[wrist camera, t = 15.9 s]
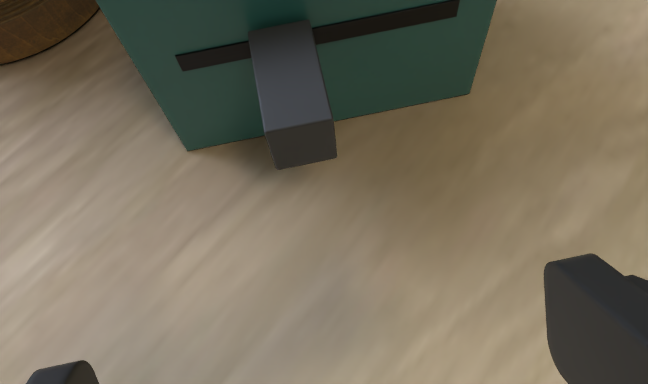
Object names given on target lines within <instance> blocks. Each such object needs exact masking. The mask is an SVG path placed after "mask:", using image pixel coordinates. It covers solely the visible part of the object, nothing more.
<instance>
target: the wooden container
mask: <svg viewBox="0 0 648 384" xmlns="http://www.w3.org/2000/svg"><path fill="white" fill-rule="evenodd" d="M98 8H99V5H98V4H97V2H96V0H0V64H4V63H8V62H12V61H16V60H19V59H22V58H25V57H28V56H31V55H33V54H36V53H38V52H40V51H42V50H44V49H47V48H49V47H51V46H53V45H55V44H56V43H58V42H60V41H61V40H63V39H65V38H66V37H68V36H69V35H70V34H72V33H73V32H74V31H76V30H77V29H78V28H79V27H81V26H82V25H83V24H84V23H85V22H86V21H87V20H88V19H89V18H90V17H91V16H92V15H93V14H94V13H95V12H96V11H97V9H98Z"/></svg>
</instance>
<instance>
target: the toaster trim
mask: <svg viewBox="0 0 648 384" xmlns="http://www.w3.org/2000/svg"><path fill="white" fill-rule="evenodd" d="M459 3H460V0H449V1H444V2H439V3H434V4H429V5H424V6H419V7H414V8H409V9H404V10H399V11H394V12H389V13H384V14H379V15H374V16H369V17H364V18H359V19H354V20H349V21H344V22H339V23H334V24H329V25H324V26H319V27H314V28H312V31H313V35H314V40H315V44H316V45H318V44H323V43H328V42H333V41H338V40H343V39H348V38H353V37H358V36H363V35H368V34H373V33H378V32H383V31H388V30H393V29H398V28H403V27H408V26H413V25H418V24H423V23H428V22H433V21H438V20H443V19H448V18H453V17H457V12H458V7H459ZM175 57H176V59H177V61H178V63H179V65H180V67H181V69H182V71H183V72H184V71H189V70H194V69H199V68H204V67H209V66H214V65H219V64H224V63H229V62H234V61H239V60H244V59H249V58H251V52H250V46H249V41H244V42H239V43H234V44H229V45H224V46H219V47H214V48H209V49H204V50H199V51H194V52H189V53H184V54H179V55H175Z"/></svg>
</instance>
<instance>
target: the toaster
mask: <svg viewBox="0 0 648 384" xmlns="http://www.w3.org/2000/svg"><path fill="white" fill-rule="evenodd" d="M444 1H449V0H96V2H97V4H98V5H99V7H100V8H101V10H102V12H103V13H104V15H105V17H106V18H107V20H108V22H109V23H110V25H111V27H112V28H113V30H114V31H115V33H116V35H117V36H118V38H119V40H120V41H121V43H122V45H123V46H124V48H125V49H126V51H127V53H128V54H129V56H130V58H131V59H132V61H133V63H134V64H135V66H136V68H137V69H138V71H139V72H140V74H141V76H142V77H143V79H144V81H145V82H146V84H147V86H148V87H149V89H150V91H151V92H152V94H153V95H154V97H155V99H156V100H157V102H158V104H159V105H160V107H161V109H162V110H163V112H164V113H165V115H166V117H167V118H168V120H169V122H170V123H171V125H172V127H173V128H174V130H175V132H176V133H177V135H178V136H179V138H180V140H181V141H182V143H183V145H184V146H185V148H186V150H187V151H190V150H195V149H200V148H205V147H210V146H215V145H219V144H224V143H229V142H234V141H239V140H244V139H249V138H254V137H259V136H264V135H265V134H264V129H263V123H262V117H261V111H260V105H259V99H258V94H257V88H256V82H255V76H254V70H253V64H252V58H249V59H244V60H239V61H234V62H229V63H224V64H219V65H214V66H209V67H204V68H199V69H194V70H189V71H184V72H183V71H182V69H181V67H180V65H179V63H178V61H177V59H176V57H175V55H179V54H184V53H189V52H194V51H199V50H204V49H209V48H214V47H219V46H224V45H229V44H234V43H239V42H244V41H249V40H248V31H252V30H257V29H262V28H267V27H272V26H277V25H282V24H287V23H292V22H297V21H302V20H307V19H308V20H309V21H310V23H311V27H312V28H314V27H319V26H324V25H329V24H334V23H339V22H344V21H349V20H354V19H359V18H364V17H369V16H374V15H379V14H384V13H389V12H394V11H399V10H404V9H409V8H414V7H419V6H424V5H429V4H434V3H439V2H444ZM496 1H497V0H460V3H459V7H458V12H457V17H453V18H448V19H443V20H438V21H433V22H428V23H423V24H418V25H413V26H408V27H403V28H398V29H393V30H388V31H383V32H378V33H373V34H368V35H363V36H358V37H353V38H348V39H343V40H338V41H333V42H328V43H323V44H318V45H316V48H317V52H318V56H319V60H320V65H321V69H322V73H323V77H324V81H325V85H326V90H327V94H328V98H329V102H330V106H331V110H332V115H333V120H334V121H337V120H342V119H347V118H352V117H357V116H362V115H367V114H372V113H377V112H382V111H387V110H391V109H396V108H401V107H406V106H411V105H416V104H421V103H426V102H431V101H436V100H441V99H446V98H450V97H455V96H460V95H465V94H469V93H470V90H471V86H472V83H473V79H474V76H475V73H476V69H477V66H478V62H479V59H480V56H481V52H482V49H483V45H484V42H485V39H486V35H487V32H488V28H489V25H490V21H491V18H492V15H493V11H494V8H495V4H496Z"/></svg>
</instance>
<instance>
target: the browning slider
mask: <svg viewBox="0 0 648 384" xmlns="http://www.w3.org/2000/svg"><path fill="white" fill-rule="evenodd" d="M248 40H249V46H250V52H251V58H252V64H253V70H254V76H255V82H256V88H257V94H258V99H259V105H260V111H261V117H262V123H263V129H264V134H265V137H266V140H267V143H268V146H269V149H270V152H271V155H272V158H273V161H274V164H275V167H276V169H277V170H281V169H286V168H291V167H295V166H300V165H305V164H310V163H315V162H320V161H325V160H330V159H334V158H337V149H336V139H335V130H334V120H333V115H332V110H331V106H330V102H329V98H328V94H327V90H326V85H325V81H324V77H323V73H322V69H321V65H320V60H319V56H318V52H317V48H316V44H315V40H314V35H313V31H312V27H311V23H310V21H309V20H308V19H307V20H302V21H297V22H292V23H287V24H282V25H277V26H272V27H267V28H262V29H257V30H252V31H248Z"/></svg>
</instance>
